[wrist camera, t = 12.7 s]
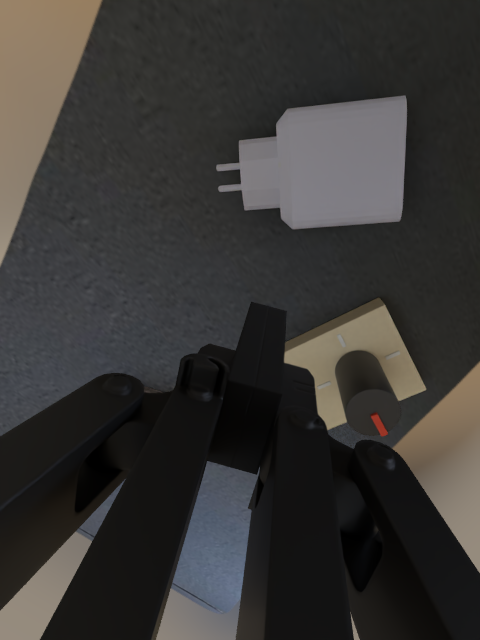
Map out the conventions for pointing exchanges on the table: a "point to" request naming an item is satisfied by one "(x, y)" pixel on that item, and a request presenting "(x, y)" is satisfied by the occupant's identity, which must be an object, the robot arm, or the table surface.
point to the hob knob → (366, 394)
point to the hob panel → (343, 337)
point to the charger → (328, 164)
